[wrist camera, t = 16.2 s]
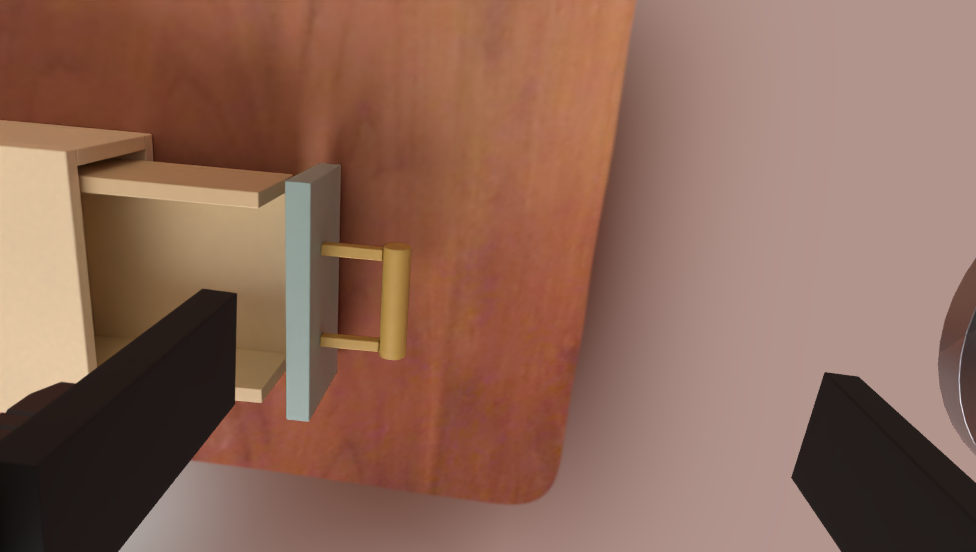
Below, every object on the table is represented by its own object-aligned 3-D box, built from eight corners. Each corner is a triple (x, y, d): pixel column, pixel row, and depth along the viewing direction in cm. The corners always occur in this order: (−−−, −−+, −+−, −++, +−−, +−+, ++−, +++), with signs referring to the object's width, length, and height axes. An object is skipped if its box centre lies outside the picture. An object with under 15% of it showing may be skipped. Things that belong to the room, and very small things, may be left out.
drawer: (424, 172, 36) (408, 191, 31) (412, 379, 40) (396, 430, 35) (75, 140, 37) (-3, 153, 31) (95, 349, 40) (29, 395, 35)
